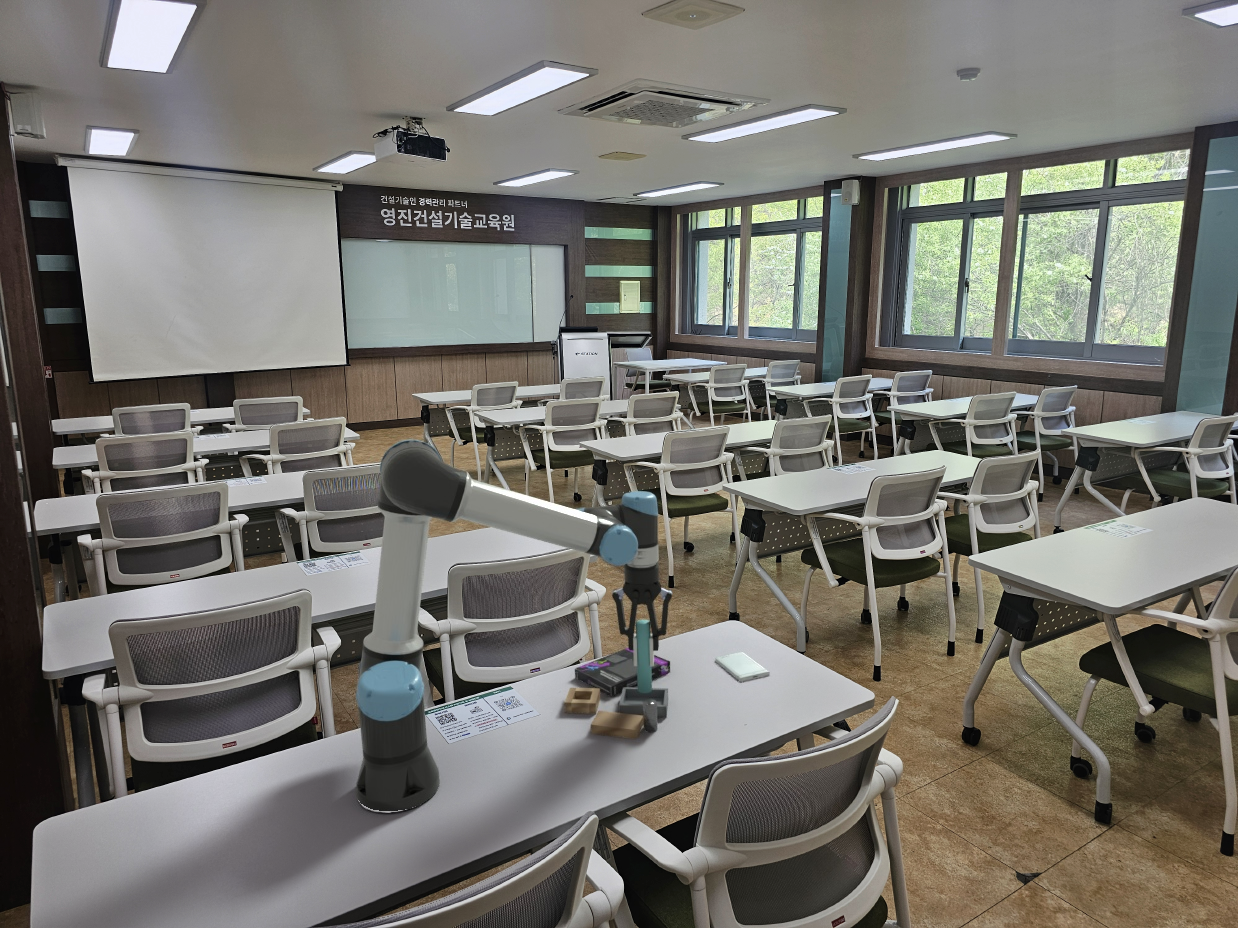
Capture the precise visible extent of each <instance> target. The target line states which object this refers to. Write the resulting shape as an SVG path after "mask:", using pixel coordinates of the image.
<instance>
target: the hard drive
mask: <svg viewBox="0 0 1238 928" xmlns="http://www.w3.org/2000/svg"><path fill="white" fill-rule="evenodd" d="M714 661H715V663H716V664H718V665H719V667H721V668H723V669H724V670H725V671H727V672H728V673H729V674H730V675H732V676H733V677H734V678H735V679H736V680H737V681H739V682H741V683H742V682H746V681H750V680H751V681H752V680H754V679H758V678H763V677H767V676H768V677H769V676H771V675H770V674H771V673H770V671H769V670H767V668H765V667H763V666H762V665H761V664H759V663H758V662H756V661H755V660H754V659H753V658H751V657H750V656H749V655H747V654H746V653H744V652H743V651H738V652H735V653H731V654H727V655H721V656H718V657H715V659H714Z"/></svg>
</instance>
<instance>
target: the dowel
mask: <svg viewBox="0 0 1238 928" xmlns="http://www.w3.org/2000/svg"><path fill="white" fill-rule="evenodd" d="M635 634H636V637H637V664H638V665H637V682H638V686H637V688H638V691H639V692H641V693H649V692H651V691H652V688H653V680H652V671H651V666H650V645H649V638H650V637H651V634H652V633H651V625H650V620H649V619H639V620H637V621H636V622H635Z"/></svg>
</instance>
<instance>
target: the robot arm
mask: <svg viewBox="0 0 1238 928" xmlns="http://www.w3.org/2000/svg"><path fill="white" fill-rule="evenodd" d="M379 465H380V466H379V472H380V480H379V481H380V482H379V488H378V489H379V491H378V492H379V493H378V501H377V510H379V512H380V513H381V514H382V515H383V516H384V519H383V520H384V522H383V529H382V530H383V531H382V542H381V550H380V551H381V552H380V557H379V559H380V560H379V568H378V576H377V577H378V578H377V588H376V595H375V606H374V615H373V624H372V625H373V626H372V632H370V633H369V634H368V635H366V636H365V637H364V639H363V642H362V652H361V653H362V654H361V661H360V662H359V665H358V681H357V684H356V693H355V698H356V703H357V706H358V717H359V724H360V725H359V726H360V727H359V728H360V736H361V746H362V760H361V765H360V769H359V772H358V776H357V781H356V787H355V788H356V789H355V790H356V791H355V792H356V797H357V798H358V800H359V801H360V803H361V804H363V805H364V806H366V807H368V808H370V809H373V810H379V811H398V810H405V809H410V808H412V807H415V806H417V807H419V806H421V805H423V804H425V803H426V802H428V801H429V800H430V799H431V798H432V797H434V796H435V794H436V793H437V792H438V790H439V788H440V785H439V784H440V782H441V780H440V779H441V778H440V771H439V767H438V765H437V764H436V763H437V762H436V761H435V759H434V757H433V755H432V752H431V750H430V749H429V746H428V737H427V735H428V734H427V724H426V711H425V701H424V697H425V696H424V692H425V684H424V681H423V678H422V674H421V668H422V657H423V650H424V641H423V639H422V638H421V637H420V636H419V635H418V627H419V626H418V625H419V618H420V617H419V616H420V607H421V601H422V600H421V599H422V591H423V590H422V589H423V581H424V575H425V574H424V573H425V565H426V555H427V548H428V547H427V546H428V539H429V532H430V531H429V529H430V522H431V520H432V519H433V518H434V519H437V520H442V521H446V522H449V523H454V522H456V521H458V520H464V521H467V522H472V523H474V524H477V525H482V526H486V527H489V528H493V529H497V530H501V531H504V532H508V533H512V534H514V535H519V536H523V537H526V538H530V539H533V540H537V541H541V542H544V543H549V544H551V545H556V546H559V547H562V548H563V547H564V548H566V549H569V550H570V549H571V550H575V551H577V552H582V553H584V554H585V553H586V554H588V555H591V556H595V557H597V558H602V559H603V561H605V562H606V563H608V564H610V565H612V566H618V567H620V566H624V571H623V573H624V583H623V586H622V587H621V588H619V589H618V588H617V589H616V588H615V589H614V590H613V591H612V594H611V597H612V599H613V601H614V603H615V607H616V614H617V622H618V623H617V624H618V628H619V629H618V630H619V634H620V635H621V636H626V637H627V638H628V640H627V641H628V642H627V643H628V645H627V646H628V647H627V648H629V650H631V651H634V666H637V665H638V664H637V637H636V633H635V631H636V620H637V614H638V613H637V611H638V606H639V605H646V608H647V613H648V617H649V619H648V620H649V621H650V631H651V633H650V634H651V637H650V638H649V645H650V666H654V655H655V652H658V651H659V647H660V643H659V642H660V641H659V638H660V637H661V636H663V637H664V636H666V634H667V628H668V627H667V626H668V615H669V605H670V602H671V599H672V597H673V590H672V589H665V588H663V587H662V584H661V582H660V564H659V563H658V562H659V560H660V559H659V557H660V556H659V510H658V501H657V500H658V499H657V496H656V495H655V494H654V493H652V492H650V491H643V490H635V491H630V492H626V493H623V495H622V497H621V502H620V503H617V504H612V505H602V506H591V507H584V506H583V507H582V508H576V509H575V508H572V507H567V506H565V505H561V504H558V503H554V502H550V501H547V500H544V499H541V498H537V497H534V496H530V495H527V494H523V493H520V492H517V491H513V490H512V489H511V490H510V489H507V488H503V487H500V486H497V485H493V484H489V483H486V482H483V481H480V480H476V479H474V478H472V476H471V475H470V474H469V472H468V471H465V470H462V469H459V468H456V467H454V466H452V465H450V464H448V463H446V462H444V461H443V460H442V457H441V456H440V454H439V452H438V451H437V449H436V448H434V446H432V445H430V444H429V443H426V442H424V441H422V440H418V439H403V440H401V441H398V442H396V443H394V444H393V445H392V446H390V447H389V448H388V449H387V450H386V452H384V455H383V456H382V458H381V460H380V463H379ZM624 594H625V596H626V597H627V598H628V599H629V600H630V601H631V607H630V616H629V624H628V627H627V624H626V616H625V615H626V614H625V609H624V608H625V607H624V602H623V601H624V599H623V598H624ZM660 594H661V595H660ZM659 595H660V596H661V597H660V598H661V600H663V602H662V611H661V621H660V627H659V625H658V621H657V613H656V608H655V602H654V601H655V600H657V599H656V598H657V597H658V596H659ZM438 787H439V788H438ZM437 789H438V790H437ZM436 791H437V792H436ZM435 792H436V793H435ZM434 793H435V794H434ZM357 798H356V799H357ZM428 799H429V800H428ZM358 800H357V801H358ZM427 800H428V801H427ZM425 801H426V802H425ZM424 802H425V803H424ZM422 803H423V804H422ZM420 804H421V805H420ZM418 805H419V806H418ZM415 808H416V807H415ZM412 809H413V808H412ZM410 810H411V809H410Z"/></svg>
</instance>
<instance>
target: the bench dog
mask: <svg viewBox="0 0 1238 928" xmlns="http://www.w3.org/2000/svg"><path fill="white" fill-rule="evenodd" d="M642 728H643V731H645V732H647V733H654V732H657V731H658V717H657V701H656V700H653V699H647V700H645V701H643V727H642Z"/></svg>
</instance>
